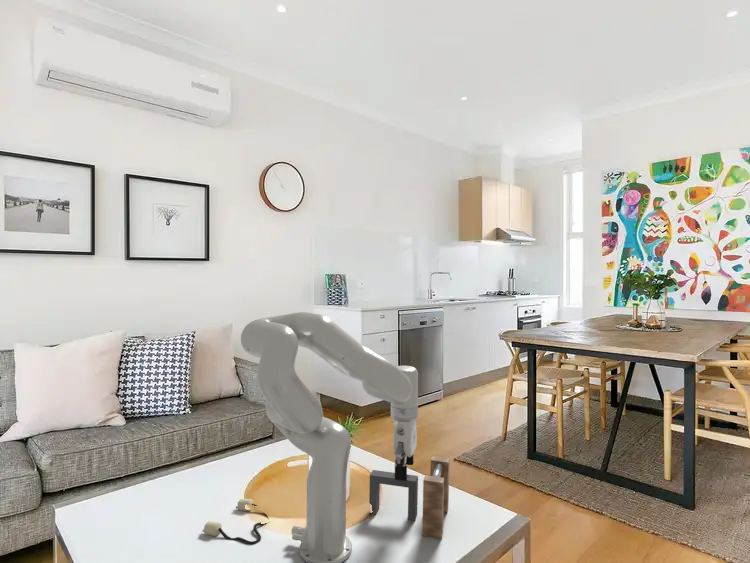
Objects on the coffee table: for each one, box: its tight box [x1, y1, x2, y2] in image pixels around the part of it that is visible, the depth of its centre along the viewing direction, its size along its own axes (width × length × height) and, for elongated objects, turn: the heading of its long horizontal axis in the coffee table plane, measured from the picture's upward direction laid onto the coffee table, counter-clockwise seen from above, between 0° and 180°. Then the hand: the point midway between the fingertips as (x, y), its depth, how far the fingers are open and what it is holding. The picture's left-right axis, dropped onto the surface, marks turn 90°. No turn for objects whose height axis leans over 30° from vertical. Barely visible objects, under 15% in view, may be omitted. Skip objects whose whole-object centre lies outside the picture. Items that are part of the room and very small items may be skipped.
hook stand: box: [421, 455, 451, 540], centre depth 127 cm, size 5×16×14 cm, turn 165°
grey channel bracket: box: [368, 469, 419, 522], centre depth 130 cm, size 13×4×11 cm, turn 75°
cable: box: [202, 498, 263, 545], centre depth 124 cm, size 16×16×4 cm
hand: (404, 471), depth 130 cm, fingers open, 9 cm apart
